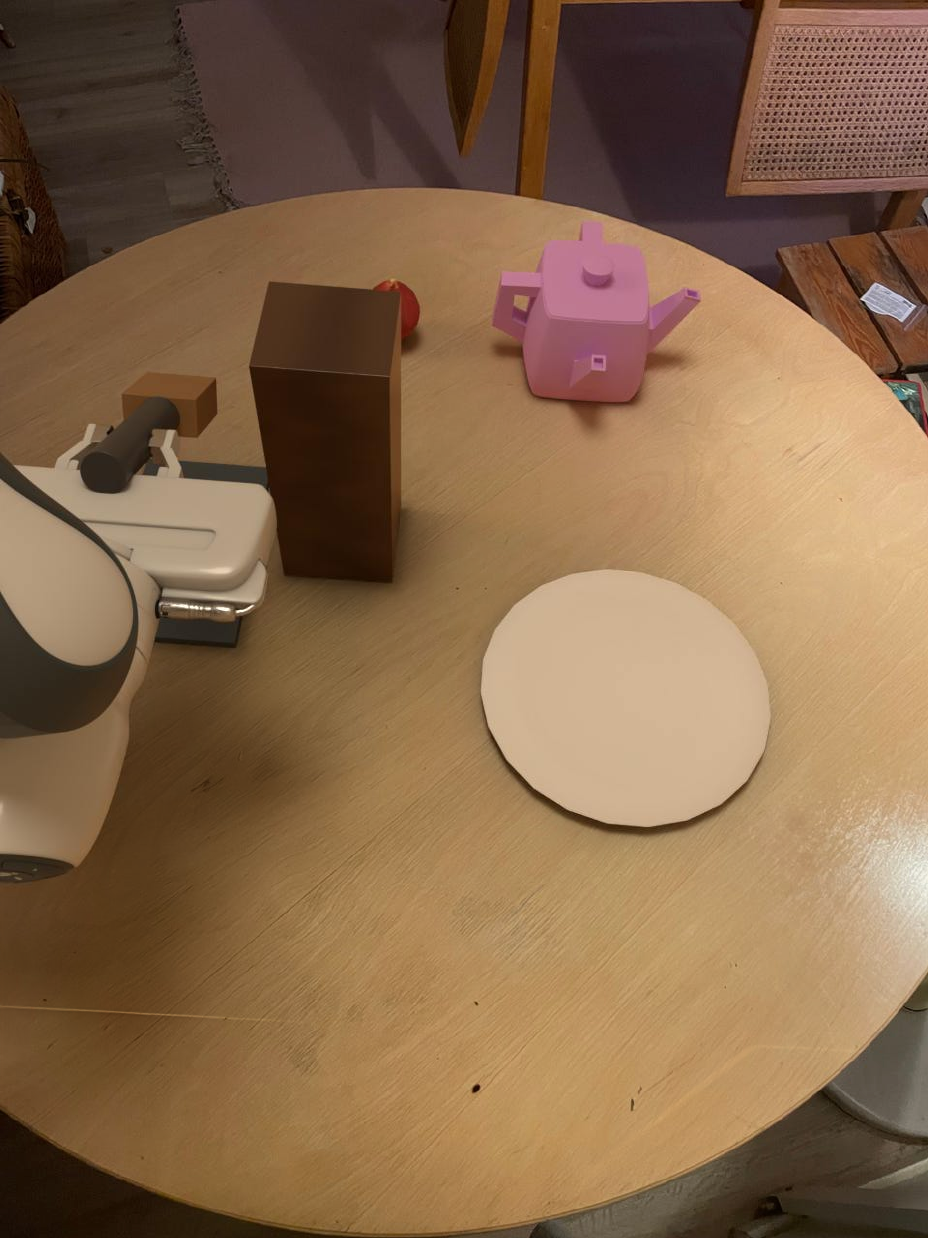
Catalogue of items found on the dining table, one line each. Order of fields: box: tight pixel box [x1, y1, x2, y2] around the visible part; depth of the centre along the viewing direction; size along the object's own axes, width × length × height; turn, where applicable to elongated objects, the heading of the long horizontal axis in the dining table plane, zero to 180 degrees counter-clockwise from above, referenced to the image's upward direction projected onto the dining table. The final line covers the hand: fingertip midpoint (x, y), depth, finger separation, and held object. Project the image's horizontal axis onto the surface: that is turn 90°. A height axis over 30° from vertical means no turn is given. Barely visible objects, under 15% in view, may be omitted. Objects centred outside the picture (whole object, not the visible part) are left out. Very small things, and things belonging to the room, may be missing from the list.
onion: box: [372, 278, 421, 340], centre depth 109 cm, size 6×6×8 cm
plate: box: [480, 568, 772, 829], centre depth 89 cm, size 25×25×2 cm
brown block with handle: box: [80, 371, 218, 494], centre depth 70 cm, size 18×5×3 cm, turn 177°
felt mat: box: [142, 458, 269, 648], centre depth 96 cm, size 12×20×1 cm, turn 177°
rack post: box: [248, 280, 402, 584], centre depth 87 cm, size 10×9×26 cm
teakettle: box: [491, 220, 702, 403], centre depth 107 cm, size 17×17×12 cm
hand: (135, 432), depth 68 cm, fingers closed on brown block with handle, 3 cm apart
